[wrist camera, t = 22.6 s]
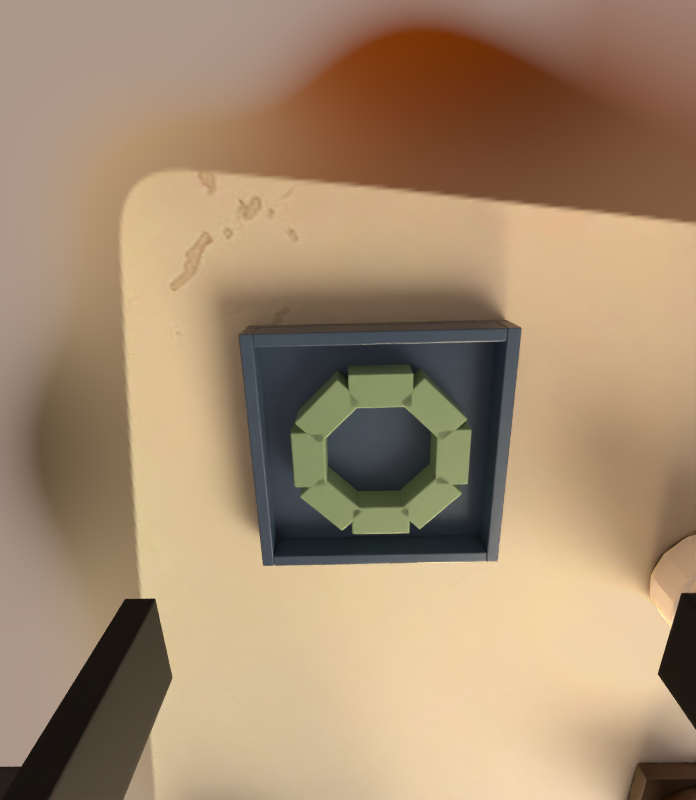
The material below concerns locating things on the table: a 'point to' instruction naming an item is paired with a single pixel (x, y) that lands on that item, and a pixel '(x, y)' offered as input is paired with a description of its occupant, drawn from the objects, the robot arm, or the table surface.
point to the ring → (380, 507)
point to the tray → (380, 435)
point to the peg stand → (664, 782)
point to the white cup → (674, 577)
